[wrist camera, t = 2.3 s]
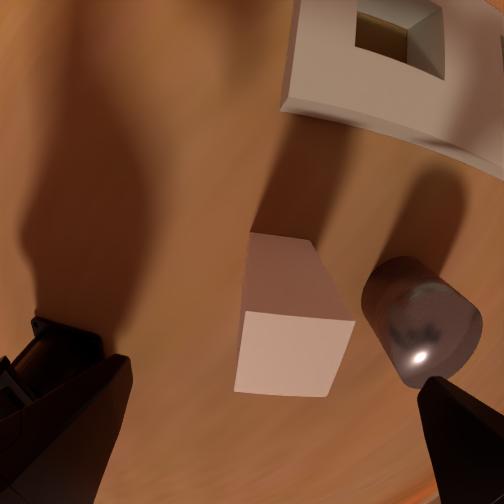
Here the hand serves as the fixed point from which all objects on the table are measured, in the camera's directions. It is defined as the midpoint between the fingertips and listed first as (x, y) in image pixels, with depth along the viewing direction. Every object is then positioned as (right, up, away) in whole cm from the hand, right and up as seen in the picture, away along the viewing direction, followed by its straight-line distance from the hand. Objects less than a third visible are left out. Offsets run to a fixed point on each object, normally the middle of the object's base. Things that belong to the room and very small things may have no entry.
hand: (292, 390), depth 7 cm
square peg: (0, +3, +9) cm, 9 cm away
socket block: (+9, +14, +5) cm, 17 cm away
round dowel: (+8, +1, +9) cm, 12 cm away
